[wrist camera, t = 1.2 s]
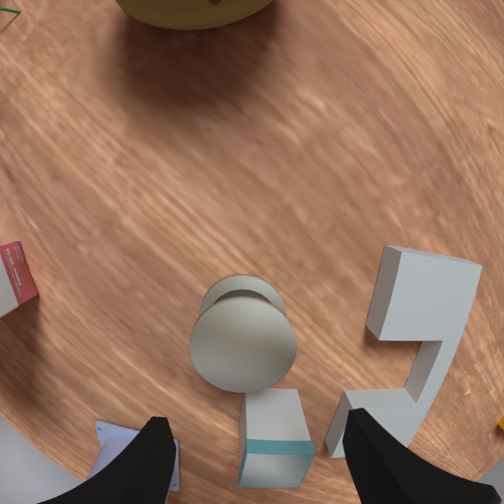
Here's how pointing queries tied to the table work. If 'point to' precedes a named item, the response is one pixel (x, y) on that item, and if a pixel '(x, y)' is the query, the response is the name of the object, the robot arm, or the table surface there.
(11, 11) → the lily
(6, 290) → the ink cartridge box
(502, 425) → the mustard square tile
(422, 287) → the notched board
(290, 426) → the teal and white block
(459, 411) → the table surface
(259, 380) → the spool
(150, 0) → the pot
